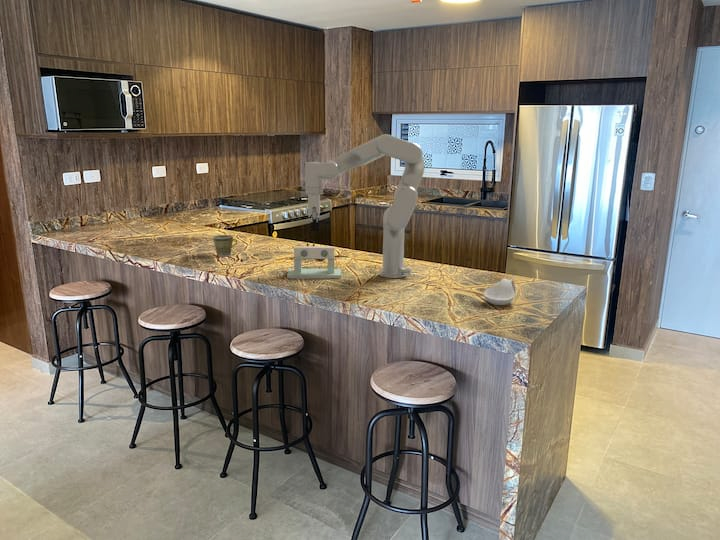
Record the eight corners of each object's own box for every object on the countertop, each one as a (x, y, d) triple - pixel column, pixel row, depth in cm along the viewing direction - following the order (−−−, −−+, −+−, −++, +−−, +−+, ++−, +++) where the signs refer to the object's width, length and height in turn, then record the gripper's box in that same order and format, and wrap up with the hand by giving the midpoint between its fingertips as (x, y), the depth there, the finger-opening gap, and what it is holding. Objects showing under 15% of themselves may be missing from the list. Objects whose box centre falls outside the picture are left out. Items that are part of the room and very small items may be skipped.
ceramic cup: (210, 256, 282) (209, 237, 279) (220, 252, 291) (219, 234, 288) (232, 258, 278) (231, 239, 275) (242, 254, 287) (241, 236, 285)
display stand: (340, 271, 256) (340, 252, 254) (341, 278, 244) (341, 258, 242) (289, 271, 255) (288, 252, 252) (287, 278, 243) (286, 258, 241)
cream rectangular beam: (334, 257, 249) (334, 246, 248) (334, 259, 246) (334, 248, 245) (294, 257, 248) (294, 246, 247) (294, 258, 245) (293, 248, 244)
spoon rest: (509, 310, 205) (511, 292, 203) (479, 305, 210) (480, 287, 209) (523, 294, 225) (524, 277, 224) (494, 290, 231) (496, 273, 229)
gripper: (306, 188, 248) (307, 225, 252) (304, 192, 231) (305, 232, 236) (323, 188, 248) (323, 225, 253) (322, 192, 232) (323, 232, 236)
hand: (315, 229), depth 244 cm, fingers open, 9 cm apart
